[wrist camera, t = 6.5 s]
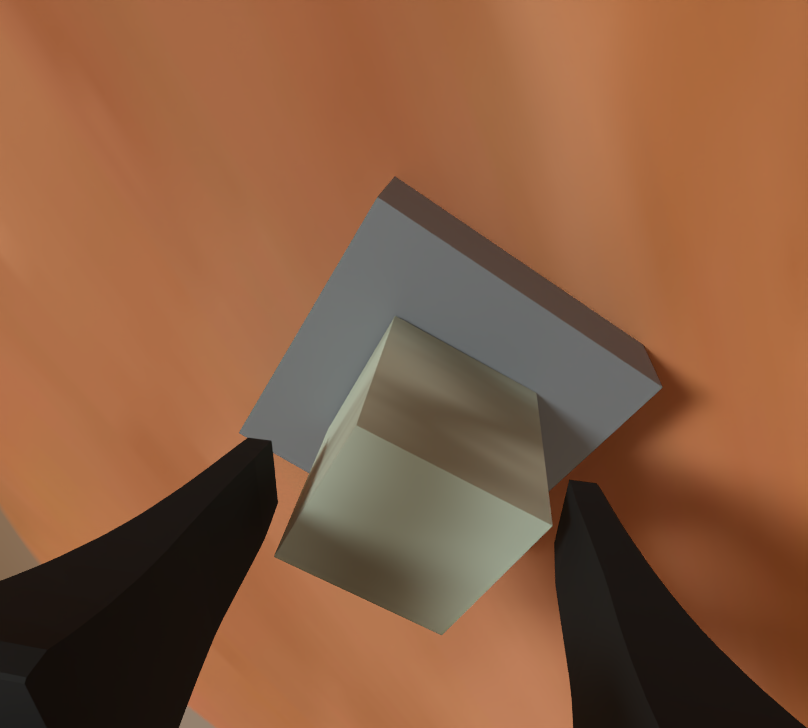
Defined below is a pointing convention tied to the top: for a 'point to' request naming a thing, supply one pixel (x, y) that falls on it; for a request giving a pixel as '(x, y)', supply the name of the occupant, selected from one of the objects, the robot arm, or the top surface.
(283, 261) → the top surface
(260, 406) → the plate
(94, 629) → the robot arm
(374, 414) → the sage block
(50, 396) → the top surface
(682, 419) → the top surface
